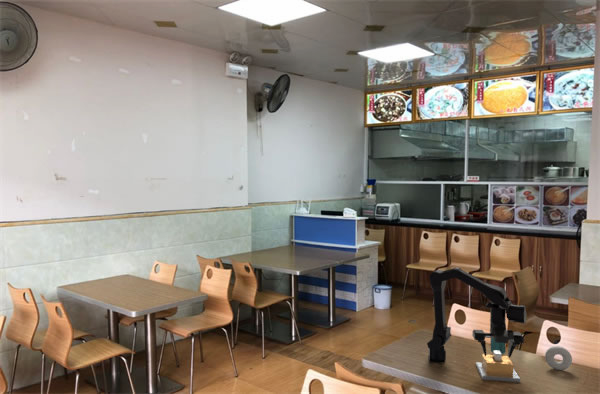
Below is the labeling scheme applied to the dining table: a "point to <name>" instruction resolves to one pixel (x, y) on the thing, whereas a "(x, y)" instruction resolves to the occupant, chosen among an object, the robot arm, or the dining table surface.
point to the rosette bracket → (497, 369)
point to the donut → (561, 351)
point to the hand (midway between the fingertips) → (497, 356)
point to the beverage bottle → (497, 346)
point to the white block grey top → (497, 356)
